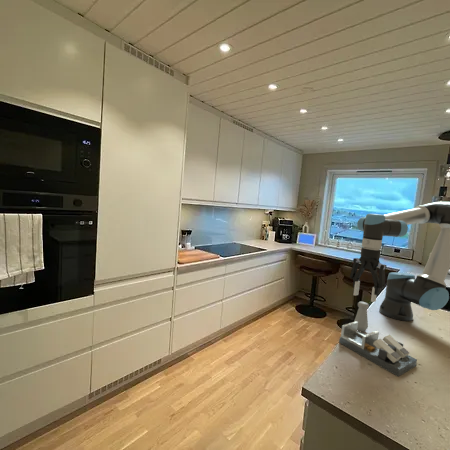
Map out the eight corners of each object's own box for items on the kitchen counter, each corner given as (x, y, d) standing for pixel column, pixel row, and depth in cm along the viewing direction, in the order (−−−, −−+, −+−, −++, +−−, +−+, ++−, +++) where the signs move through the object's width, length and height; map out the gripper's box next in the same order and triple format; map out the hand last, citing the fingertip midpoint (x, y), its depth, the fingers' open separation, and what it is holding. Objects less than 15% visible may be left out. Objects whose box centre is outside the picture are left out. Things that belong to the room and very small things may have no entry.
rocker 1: (378, 341, 95) (380, 338, 95) (398, 360, 89) (401, 356, 88) (372, 343, 93) (375, 340, 93) (393, 362, 87) (396, 359, 87)
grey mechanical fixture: (357, 336, 110) (359, 319, 109) (416, 366, 91) (419, 346, 91) (339, 342, 103) (341, 325, 102) (398, 376, 85) (401, 355, 84)
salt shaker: (354, 325, 120) (358, 299, 119) (368, 330, 117) (372, 302, 115) (351, 329, 116) (355, 302, 115) (365, 334, 112) (369, 306, 111)
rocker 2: (387, 337, 99) (389, 334, 98) (407, 355, 93) (410, 352, 92) (382, 339, 97) (385, 336, 96) (402, 358, 91) (405, 355, 90)
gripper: (345, 244, 119) (339, 291, 121) (391, 253, 102) (383, 308, 104) (354, 244, 123) (348, 289, 125) (400, 253, 106) (392, 305, 108)
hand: (364, 298), depth 115 cm, fingers open, 7 cm apart
